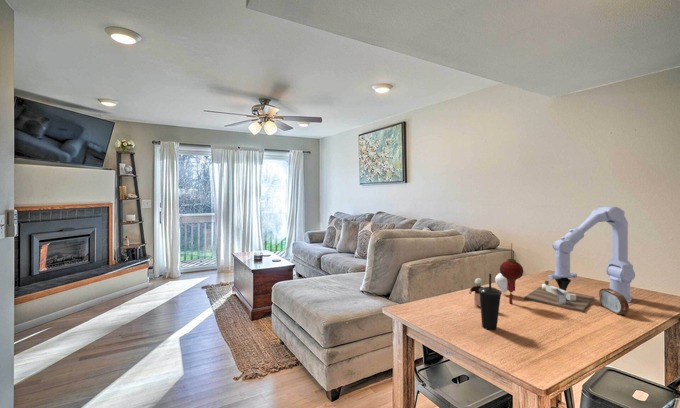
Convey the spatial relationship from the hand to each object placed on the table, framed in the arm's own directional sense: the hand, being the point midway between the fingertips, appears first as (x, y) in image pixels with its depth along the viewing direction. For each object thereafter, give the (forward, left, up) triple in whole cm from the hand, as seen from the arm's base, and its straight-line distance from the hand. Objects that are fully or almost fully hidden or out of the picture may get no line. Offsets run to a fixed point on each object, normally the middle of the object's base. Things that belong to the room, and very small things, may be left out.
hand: (562, 293), depth 149 cm
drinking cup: (+61, -9, -2) cm, 62 cm away
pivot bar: (+1, -2, -1) cm, 2 cm away
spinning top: (+17, -20, -2) cm, 27 cm away
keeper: (+11, +1, -1) cm, 11 cm away
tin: (+5, +19, -2) cm, 20 cm away
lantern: (+28, -13, -2) cm, 31 cm away
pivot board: (+4, 0, -2) cm, 5 cm away
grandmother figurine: (+43, -21, -2) cm, 48 cm away
